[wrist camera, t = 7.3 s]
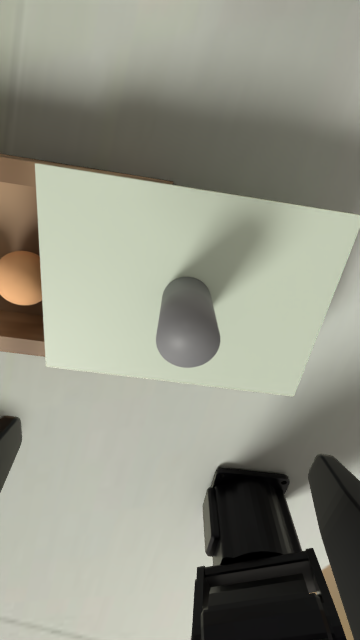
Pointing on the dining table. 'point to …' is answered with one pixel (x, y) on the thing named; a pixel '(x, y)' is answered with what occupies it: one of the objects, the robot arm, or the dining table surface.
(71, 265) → the lid
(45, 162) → the box
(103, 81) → the dining table surface
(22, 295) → the ball
